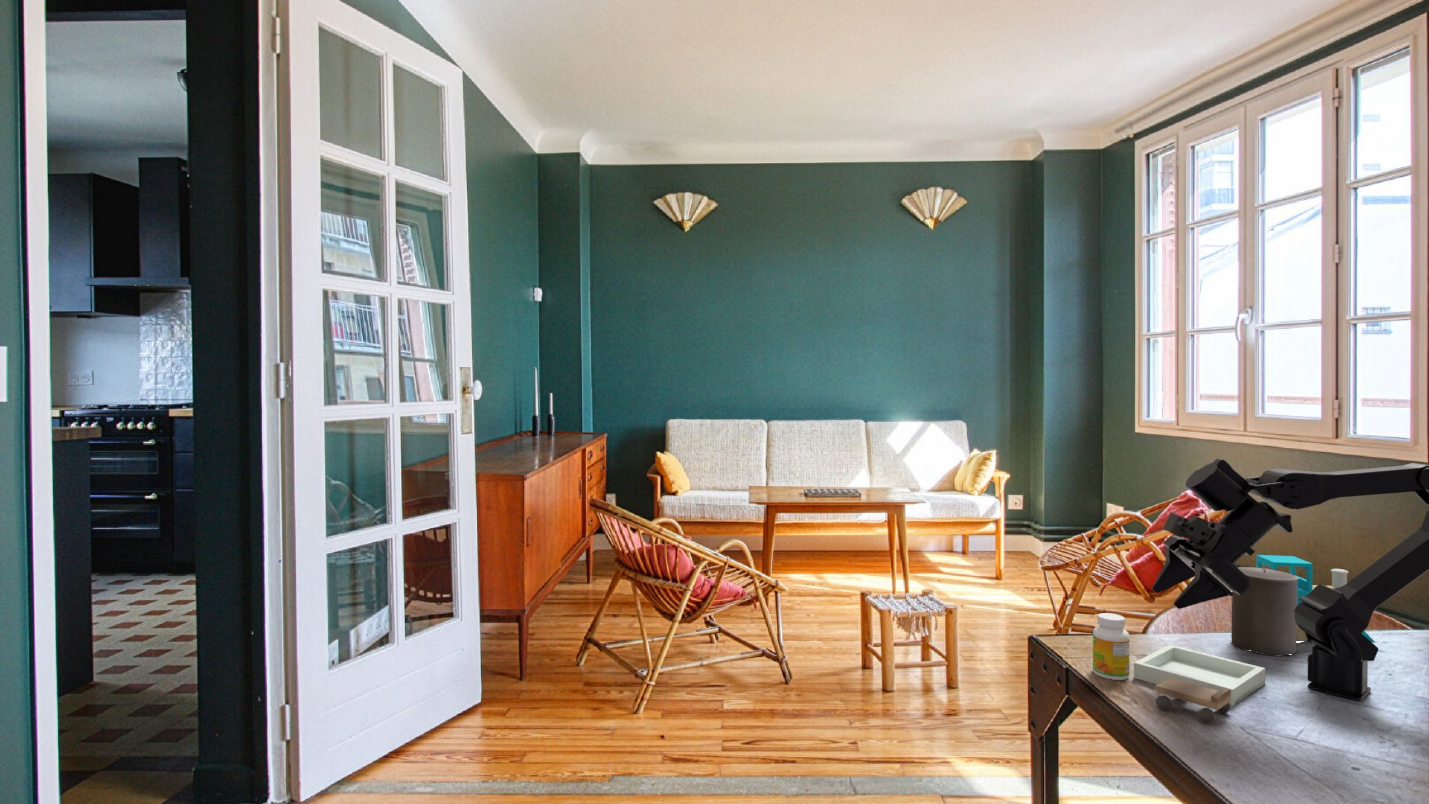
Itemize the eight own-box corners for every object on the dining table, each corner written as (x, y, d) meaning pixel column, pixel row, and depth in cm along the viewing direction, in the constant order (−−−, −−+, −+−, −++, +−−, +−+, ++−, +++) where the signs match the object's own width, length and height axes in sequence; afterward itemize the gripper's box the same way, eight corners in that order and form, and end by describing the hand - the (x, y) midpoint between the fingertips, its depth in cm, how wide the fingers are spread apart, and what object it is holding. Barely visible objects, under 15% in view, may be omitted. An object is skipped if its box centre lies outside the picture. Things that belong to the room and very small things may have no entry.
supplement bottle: (1085, 669, 127) (1086, 612, 126) (1116, 668, 127) (1116, 611, 127) (1105, 681, 121) (1105, 621, 121) (1136, 680, 122) (1137, 620, 121)
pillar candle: (1232, 650, 135) (1234, 568, 135) (1229, 634, 144) (1231, 557, 143) (1300, 661, 130) (1302, 575, 130) (1292, 644, 139) (1295, 564, 138)
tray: (1265, 683, 120) (1265, 668, 120) (1232, 706, 112) (1232, 689, 111) (1170, 658, 131) (1170, 644, 131) (1133, 677, 123) (1134, 662, 123)
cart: (1232, 714, 109) (1232, 687, 109) (1215, 726, 105) (1215, 699, 105) (1172, 696, 115) (1172, 671, 115) (1153, 707, 111) (1153, 681, 111)
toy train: (1378, 649, 136) (1379, 567, 136) (1275, 643, 140) (1275, 563, 139) (1351, 635, 144) (1351, 557, 144) (1254, 629, 147) (1254, 554, 147)
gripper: (1174, 488, 130) (1107, 551, 133) (1224, 505, 112) (1146, 577, 114) (1226, 534, 129) (1157, 596, 131) (1285, 557, 110) (1204, 630, 113)
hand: (1164, 598), depth 122 cm, fingers open, 9 cm apart
